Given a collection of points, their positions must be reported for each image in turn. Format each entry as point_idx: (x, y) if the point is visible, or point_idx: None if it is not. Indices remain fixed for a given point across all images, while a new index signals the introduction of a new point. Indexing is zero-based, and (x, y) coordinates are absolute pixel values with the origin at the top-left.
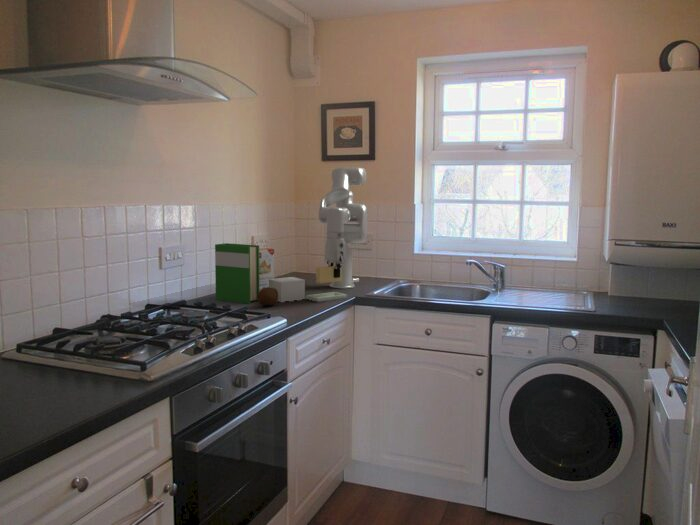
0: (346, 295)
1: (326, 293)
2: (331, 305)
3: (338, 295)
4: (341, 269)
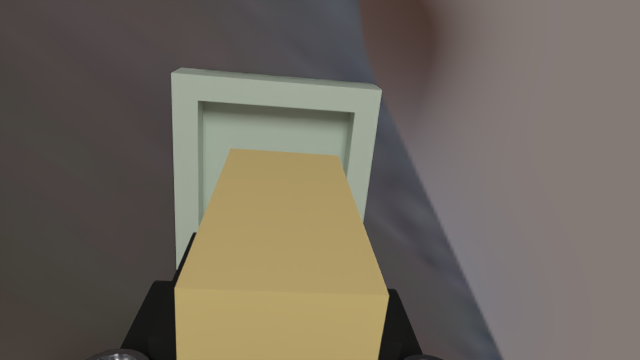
0: (378, 95)
1: (197, 211)
2: (481, 348)
3: (356, 188)
4: (368, 262)
